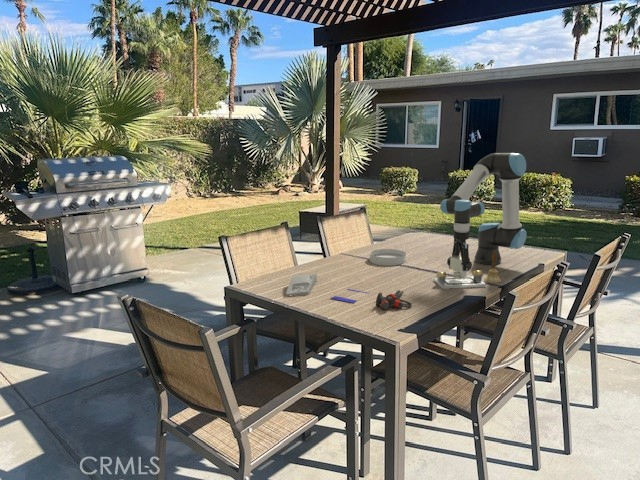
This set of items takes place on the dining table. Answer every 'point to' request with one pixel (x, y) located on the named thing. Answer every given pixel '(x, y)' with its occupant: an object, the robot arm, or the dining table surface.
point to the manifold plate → (460, 281)
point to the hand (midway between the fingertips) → (459, 273)
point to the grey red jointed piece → (391, 301)
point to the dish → (387, 257)
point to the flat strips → (346, 298)
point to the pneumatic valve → (457, 265)
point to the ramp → (301, 284)
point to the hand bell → (493, 271)
